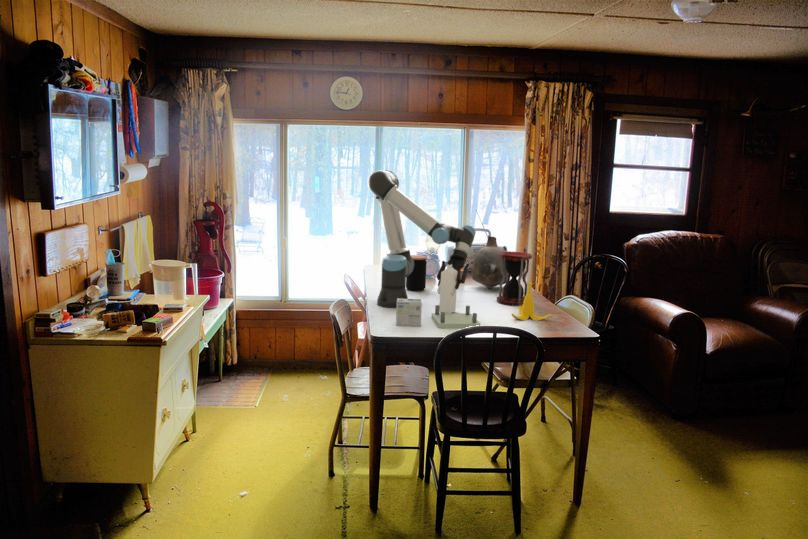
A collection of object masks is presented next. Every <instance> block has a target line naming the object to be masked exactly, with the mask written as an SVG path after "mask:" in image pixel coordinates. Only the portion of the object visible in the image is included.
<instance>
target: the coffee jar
mask: <svg viewBox="0 0 808 539" xmlns="http://www.w3.org/2000/svg"><path fill="white" fill-rule="evenodd" d="M410 255H411V254H410ZM411 257H412V258H413V260H414V269H413V271H412V273H411V274H410V275H409V276H407V277H406V285H405V289H407V290H408V291H411V292H424V290H425V289H426V283H427V282H426V280H427V264H428V263H427V259H428V257H427V256H424V255H418V254H415V255H414V254H413V255H411ZM407 290H406V291H407Z"/></svg>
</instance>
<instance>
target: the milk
mask: <svg viewBox="0 0 808 539" xmlns="http://www.w3.org/2000/svg"><path fill="white" fill-rule="evenodd" d="M457 275H458V271H456V270H455V269H454V268H452V264H451V265H447V266H446V268H445V270H444V271H442V272H441V283H440V294H439V301H438V302H439V304H438V305H439V306H440V307H439V313H454V312H456V305H457V304H456V303H457V291H458V289H456V291H455V293H454V296H452V294H451V290H452V288H453V285H454V282H455V281H457Z"/></svg>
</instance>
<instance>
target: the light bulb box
mask: <svg viewBox="0 0 808 539" xmlns="http://www.w3.org/2000/svg"><path fill="white" fill-rule="evenodd" d="M422 306H423V305H422V299H421V298H408V299H399V298H397V308H396V316H395V317H396V319H395V320H396V321H395V322H396V323H395V325H396V327H397V326H399V327H401V326H402V327H422V326H421V325H422Z"/></svg>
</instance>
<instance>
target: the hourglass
mask: <svg viewBox="0 0 808 539" xmlns="http://www.w3.org/2000/svg"><path fill="white" fill-rule="evenodd" d="M500 257H502V259H501V274H502V275H503V280H502V282H501V283H500V285H499V292H498V294H499V295H498V296H497V297H496V302H497V303H498V304H502V305H507V306H515V307H516V306H518V307H519V306H523V302H524V299H525V296H526V294H527V292H528V282H527V281H526V276H527V274H528V273H529V267H530V260H532V258H533V255H532V253H528V252H521V251H509V250H508V251H506V252H500ZM504 259H505V264H504V265H505V269H506V271H507V272H508V279H507V281H506V284H503V283H504V282H505V279H506V277H505V274H504V273H503V262H504ZM524 271H525V272H524ZM517 278H518V279H517ZM521 280H522V282H523V283H524V287H523V285H522V284H521V283H522V282H521Z"/></svg>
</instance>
